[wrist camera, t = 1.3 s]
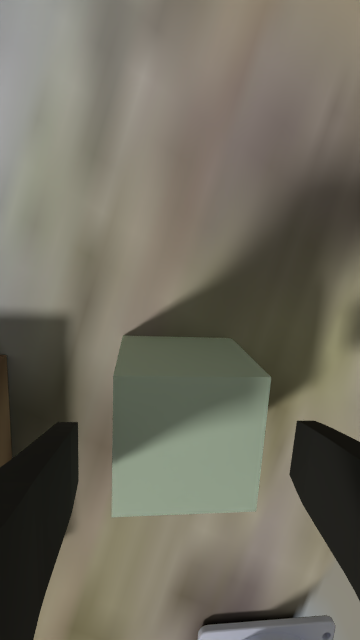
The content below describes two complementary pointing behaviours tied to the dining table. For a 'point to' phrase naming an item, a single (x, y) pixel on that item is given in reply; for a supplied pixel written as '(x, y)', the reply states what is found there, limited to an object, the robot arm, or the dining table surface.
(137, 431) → the cube
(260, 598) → the dining table surface
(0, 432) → the base block
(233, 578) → the dining table surface
